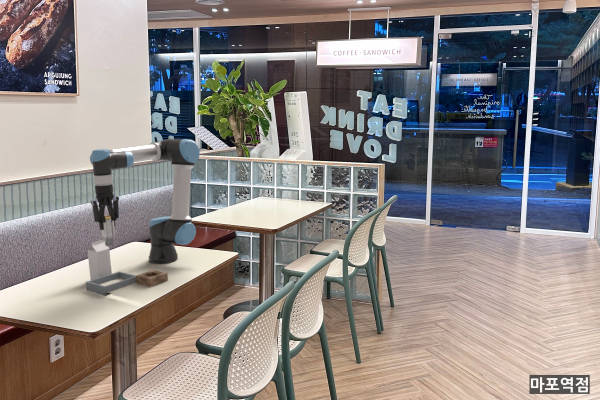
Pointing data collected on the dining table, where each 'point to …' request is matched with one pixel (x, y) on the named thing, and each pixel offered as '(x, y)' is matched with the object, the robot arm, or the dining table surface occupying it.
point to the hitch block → (151, 278)
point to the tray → (103, 290)
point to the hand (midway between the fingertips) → (108, 235)
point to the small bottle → (108, 231)
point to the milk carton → (99, 260)
